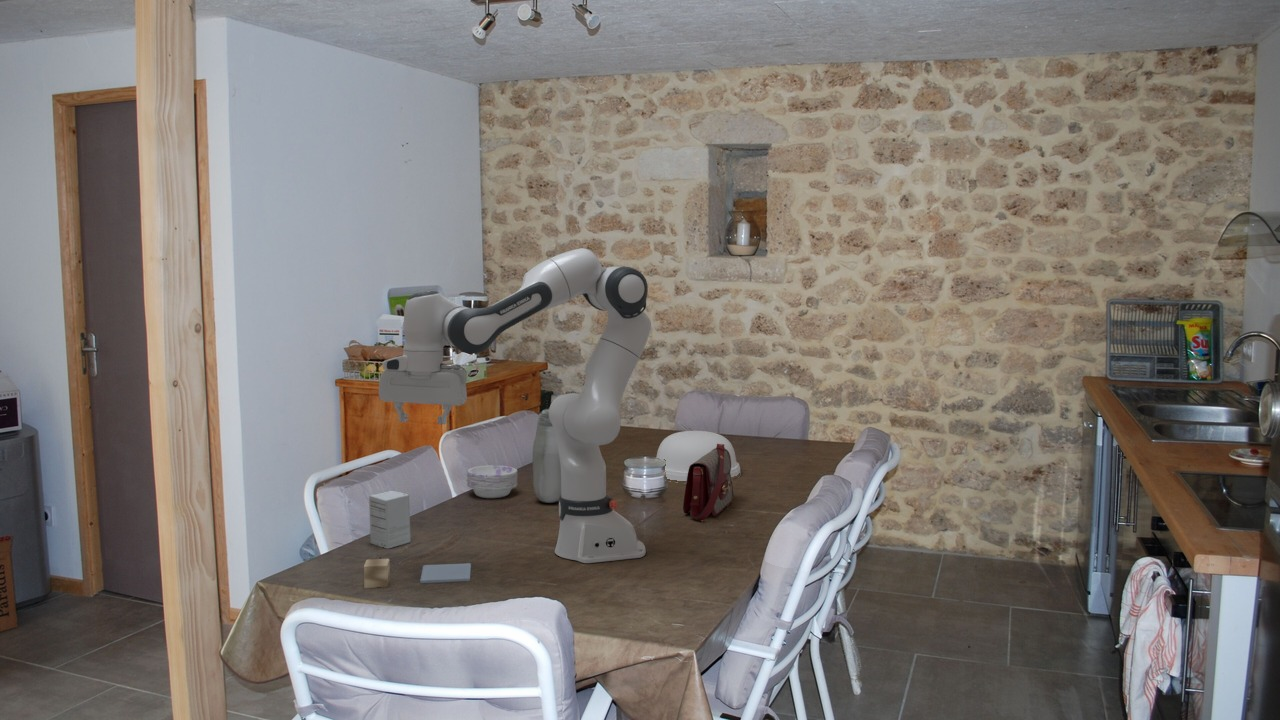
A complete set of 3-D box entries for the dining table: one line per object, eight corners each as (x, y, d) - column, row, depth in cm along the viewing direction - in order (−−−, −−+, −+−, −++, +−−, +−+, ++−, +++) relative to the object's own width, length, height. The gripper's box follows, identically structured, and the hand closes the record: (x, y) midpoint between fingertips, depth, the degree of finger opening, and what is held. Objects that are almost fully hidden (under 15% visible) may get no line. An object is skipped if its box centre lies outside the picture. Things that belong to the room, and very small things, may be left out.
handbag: (713, 524, 271) (714, 462, 269) (677, 520, 274) (677, 459, 272) (739, 500, 297) (740, 443, 295) (705, 497, 300) (706, 441, 298)
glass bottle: (562, 507, 287) (562, 412, 284) (528, 505, 289) (528, 410, 286) (571, 498, 297) (571, 406, 294) (539, 496, 299) (538, 405, 296)
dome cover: (635, 468, 340) (635, 428, 339) (711, 460, 353) (712, 422, 351) (677, 488, 312) (678, 444, 310) (758, 479, 324) (759, 437, 322)
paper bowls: (522, 489, 308) (522, 464, 307) (511, 501, 293) (511, 475, 292) (474, 488, 310) (474, 463, 309) (461, 500, 295) (460, 474, 294)
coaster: (470, 565, 234) (470, 563, 234) (470, 581, 223) (470, 578, 223) (423, 567, 232) (423, 565, 232) (420, 583, 221) (420, 580, 221)
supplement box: (393, 537, 256) (392, 489, 255) (411, 542, 252) (410, 494, 250) (369, 543, 251) (368, 495, 249) (387, 549, 246) (386, 499, 245)
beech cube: (389, 580, 224) (389, 558, 223) (387, 587, 219) (387, 565, 218) (367, 581, 223) (366, 559, 222) (364, 588, 218) (363, 566, 217)
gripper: (471, 363, 226) (470, 423, 227) (387, 359, 229) (387, 418, 231) (461, 366, 220) (460, 427, 221) (375, 361, 223) (375, 422, 224)
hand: (422, 422), depth 226 cm, fingers open, 8 cm apart
